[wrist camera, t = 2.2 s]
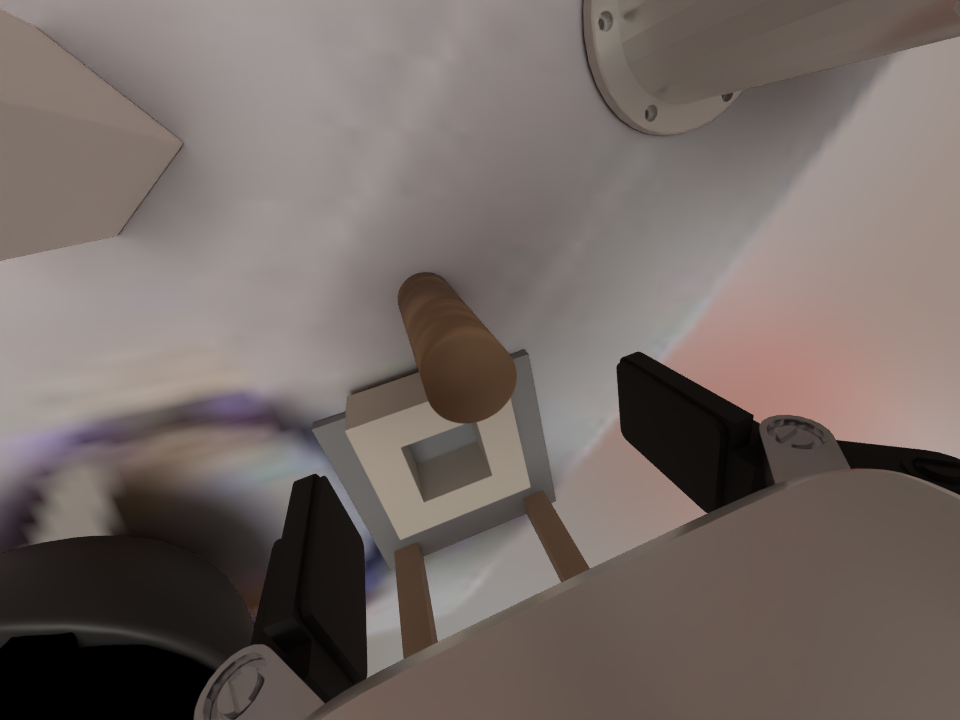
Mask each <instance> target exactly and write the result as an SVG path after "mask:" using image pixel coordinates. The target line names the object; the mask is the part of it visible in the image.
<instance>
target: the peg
mask: <svg viewBox="0 0 960 720" xmlns="http://www.w3.org/2000/svg"><path fill="white" fill-rule="evenodd" d="M398 305H399V309H400V312H401V315H402V319H403V322H404V325H405V328H406V331H407V335H408V338H409V341H410V344H411V348H412V351H413V354H414V357H415V361H416V364H417V367H418V370H419V373H420V377H421V380H422V383H423V386H424V390H425V393H426V396H427V399H428V402H429V404H430V406H431V407H432V409H433V410H434V411H435V412H436V413H437V414H438V415H439V416H441V417H442V418H444V419H446V420H448V421H451V422H455V423H462V424H468V423H475V422H479V421H482V420H485V419H487V418H489V417H491V416H493V415H494V414H496V413H497V412H498V411H500V410H501V409H502V408H503V407H504V406H505V405H506V403H507V402H508V401H509V399H510V398H511V396H512V394H513V392H514V389H515V386H516V380H517V372H516V366H515V363H514V361H513V359H512V357H511V356H510V354H509V353H508V352H507V351H506V349H505V348H504V347H503V346H502V345H501V344H500V343H499V342H498V340H497V339H496V338H495V337H494V336H493V335H492V334H491V332H490V331H489V330H488V329H487V328H486V327H485V326H484V324H483V323H482V322H481V321H480V320H479V319H478V318H477V316H476V315H475V314H474V313H473V312H472V311H471V310H470V308H469V307H468V306H467V305H466V304H465V303H464V302H463V300H462V299H461V298H460V297H459V296H458V295H457V294H456V292H455V291H454V290H453V289H452V288H451V287H450V286H449V284H448V283H447V282H446V281H445V280H444V279H443V278H442V277H440V276H438V275H436V274H433V273H429V272H423V273H417V274H415V275H413V276H411V277H409V278H408V279H407V280H406V281H405V282H404V283H403V284H402V286H401V288H400V290H399V293H398Z"/></svg>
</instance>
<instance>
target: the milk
mask: <svg viewBox="0 0 960 720" xmlns="http://www.w3.org/2000/svg"><path fill="white" fill-rule="evenodd" d="M182 144H183V143H182V141H181V140H179V139H178V138H177V137H176V136H174V135H173V134H172V133H170V132H169V131H168V130H167V129H165V128H164V127H163V126H161V125H160V124H159V123H158V122H156V121H155V120H154V119H152V118H151V117H150V116H149V115H147V114H146V113H145V112H143V111H142V110H141V109H140V108H138V107H137V106H136V105H135V104H133V103H132V102H131V101H129V100H128V99H127V98H126V97H124V96H123V95H122V94H120V93H119V92H118V91H117V90H115V89H114V88H113V87H111V86H110V85H109V84H108V83H106V82H105V81H104V80H102V79H101V78H100V77H99V76H97V75H96V74H95V73H94V72H92V71H91V70H90V69H88V68H87V67H86V66H85V65H83V64H82V63H81V62H79V61H78V60H77V59H76V58H74V57H73V56H72V55H70V54H69V53H68V52H67V51H65V50H64V49H63V48H61V47H60V46H59V45H58V44H56V43H55V42H54V41H53V40H51V39H50V38H49V37H47V36H46V35H45V34H44V33H42V32H41V31H40V30H38V29H37V28H36V27H34V26H33V25H31V24H29V23H27V22H25V21H23V20H21V19H19V18H17V17H15V16H13V15H11V14H9V13H7V12H5V11H3V10H1V9H0V261H1V260H6V259H11V258H15V257H20V256H25V255H30V254H34V253H39V252H44V251H49V250H53V249H58V248H63V247H67V246H72V245H77V244H82V243H86V242H91V241H96V240H101V239H105V238H110V237H115V236H117V235H118V234H119V232H120V231H121V230H122V228H123V227H124V226H125V224H126V223H127V221H128V220H129V219H130V217H131V216H132V214H133V213H134V212H135V210H136V209H137V207H138V206H139V205H140V203H141V202H142V200H143V199H144V198H145V196H146V195H147V194H148V192H149V191H150V189H151V188H152V187H153V185H154V184H155V182H156V181H157V180H158V178H159V177H160V175H161V174H162V173H163V171H164V170H165V168H166V167H167V166H168V164H169V163H170V162H171V160H172V159H173V157H174V156H175V155H176V153H177V152H178V150H179V149H180V148H181V146H182Z"/></svg>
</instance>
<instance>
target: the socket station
mask: <svg viewBox="0 0 960 720" xmlns="http://www.w3.org/2000/svg"><path fill="white" fill-rule="evenodd" d="M510 356H511V357H512V359H513V361H514V363H515V366H516V372H517V380H516V386H515V389H514V392H513V394H512V396H511V398H510V399H509V401H508V402H507V403H506V405H505V406H504V407H503V408H502V409H501V410H500V411H498V412H497V413H496V414H494V415H493V416H491V417H489V418H487V419H485V420H482V421H479V422H475V423H468V424H462V423H455V422H451V421H448V420H446V419H444V418H442V417H441V416H439V415H438V414H437V413H436V412H435V411H434V410H433V409H432V407H431V406H430V404H429V402H428V399H427V396H426V393H425V390H424V386H423V383H422V380H421V377H420V373H419V372H418V373H415V374H412V375H409V376H406V377H403V378H400V379H398V380H395V381H392V382H389V383H386V384H383V385H380V386H377V387H374V388H371V389H368V390H365V391H362V392H359V393H356V394H354V395H351V396H348V397H347V403H346V412H344V413H341V414H338V415H335V416H332V417H329V418H326V419H323V420H320V421H318V422H315V423H313V426H312V431H313V433H314V434H315V436H316V438H317V440H318V442H319V443H320V445H321V447H322V449H323V451H324V452H325V454H326V456H327V458H328V459H329V461H330V463H331V465H332V467H333V468H334V470H335V472H336V474H337V475H338V477H339V479H340V481H341V483H342V484H343V486H344V488H345V490H346V491H347V493H348V495H349V497H350V499H351V500H352V502H353V504H354V506H355V508H356V509H357V511H358V513H359V515H360V516H361V518H362V520H363V522H364V524H365V525H366V527H367V529H368V531H369V532H370V534H371V536H372V538H373V540H374V541H375V543H376V545H377V547H378V548H379V550H380V552H381V554H382V556H383V557H384V559H385V561H386V563H387V565H388V566H389V568H390V570H391V569H394V568H396V579H397V590H398V601H399V612H400V623H401V634H402V645H403V655H404V659H405V658H407V657H409V656H411V655H413V654H415V653H417V652H419V651H421V650H423V649H425V648H427V647H429V646H431V645H433V644H435V643H437V642H438V641H437V635H436V629H435V623H434V617H433V611H432V605H431V599H430V593H429V587H428V582H427V576H426V570H425V564H424V558H423V556H425V555H427V554H430V553H432V552H435V551H437V550H439V549H442V548H444V547H447V546H449V545H451V544H454V543H456V542H459V541H461V540H464V539H466V538H468V537H471V536H473V535H476V534H478V533H480V532H483V531H485V530H488V529H490V528H492V527H495V526H497V525H500V524H502V523H504V522H507V521H509V520H512V519H514V518H516V517H519V516H521V515H524V514H526V513H527V515H528V517H529V519H530V521H531V523H532V525H533V527H534V529H535V531H536V533H537V535H538V537H539V539H540V541H541V543H542V545H543V547H544V549H545V551H546V553H547V555H548V557H549V559H550V561H551V563H552V565H553V567H554V569H555V571H556V572H557V575H558V577H559V579H560V581H561V582H564V581H566V580H568V579H570V578H572V577H574V576H576V575H578V574H580V573H582V572H585V571H587V570H589V569H590V568H589V566H588V565H587V563H586V561H585V560H584V558H583V556H582V555H581V553H580V551H579V550H578V548H577V546H576V545H575V543H574V541H573V540H572V538H571V536H570V535H569V533H568V531H567V530H566V528H565V526H564V524H563V523H562V521H561V519H560V518H559V516H558V514H557V513H556V511H555V509H554V508H553V506H552V504H551V503H553V502H555V501H556V499H555V493H554V488H553V483H552V477H551V472H550V467H549V461H548V456H547V451H546V445H545V440H544V435H543V429H542V424H541V419H540V413H539V408H538V402H537V397H536V392H535V386H534V381H533V376H532V370H531V365H530V360H529V354H528V353H527V352H526V351H525V350H522V351H520V352H517V353H514V354H511V355H510Z"/></svg>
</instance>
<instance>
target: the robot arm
mask: <svg viewBox="0 0 960 720" xmlns="http://www.w3.org/2000/svg"><path fill="white" fill-rule="evenodd" d="M583 17H584V38H585V44H586V49H587V55H588V61H589V64H590V67H591V70H592V73H593V76H594V79H595V82H596V85H597V87H598V89H599V90H600V92H601V94H602V96H603V98H604V99H605V101H606V103H607V104H608V106H609V107H610V108H611V109H612V110H613V111H614V113H615V114H616V115H617V116H618V117H619V118H620V119H621V120H623V121H624V122H625V123H627V124H628V125H629V126H631V127H632V128H634V129H636V130H639V131H641V132H644V133H646V134H652V135H661V136H664V135H672V134H680V133H684V132H688V131H691V130H695V129H697V128H699V127H701V126H703V125H705V124H707V123H709V122H711V121H712V120H714V119H715V118H716V117H717V116H719V115H720V114H721V113H722V112H724V111H725V110H726V109H727V108H728V107H729V106H730V105H731V104H732V103H733V102H734V101H735V100H736V98H737V97H738V96H739V95H740V94H741V93H742V92H743V90H744V89H749V88H753V87H757V86H761V85H765V84H769V83H773V82H777V81H781V80H785V79H789V78H793V77H797V76H801V75H805V74H809V73H813V72H817V71H821V70H825V69H829V68H833V67H837V66H841V65H845V64H849V63H854V62H858V61H862V60H866V59H870V58H874V57H878V56H882V55H886V54H890V53H894V52H898V51H902V50H906V49H910V48H914V47H918V46H922V45H926V44H930V43H934V42H938V41H942V40H946V39H950V38H954V37H959V36H960V0H584V6H583ZM598 23H599V24H598ZM599 25H600V28H599ZM617 382H618V396H619V411H620V426H621V432H622V434H623V436H624V438H625V439H626V440H627V441H628V442H629V443H630V444H631V445H632V446H634V447H635V448H636V449H637V450H638V451H639V452H640V453H641V454H642V455H643V456H645V457H646V458H647V459H648V460H649V461H650V462H651V463H652V464H653V465H654V466H655V467H657V468H658V469H659V470H660V471H661V472H662V473H663V474H664V475H666V477H668V478H669V479H670V480H671V481H672V482H673V483H674V484H675V485H676V486H677V487H679V488H680V489H681V490H682V491H683V492H684V493H685V494H686V495H687V496H688V497H689V498H691V499H692V500H693V501H694V502H695V503H696V504H697V505H698V506H699V507H700V508H701V509H703V510H704V511H705V512H706V513H708V514H706V515H704V516H702V517H699V518H697V519H695V520H693V521H691V522H689V523H686V524H684V525H682V526H680V527H678V528H676V529H674V530H671V531H669V532H667V533H665V534H663V535H661V536H659V537H657V538H654V539H652V540H650V541H648V542H646V543H644V544H642V545H640V546H637V547H635V548H633V549H631V550H629V551H627V552H625V553H623V554H620V555H618V556H616V557H614V558H612V559H610V560H608V561H606V562H604V563H601V564H599V565H597V566H595V567H593V568H591V569H589V570H587V571H585V572H582V573H580V574H578V575H576V576H574V577H572V578H570V579H568V580H566V581H564V582H561V583H559V584H557V585H555V586H553V587H551V588H549V589H547V590H545V591H543V592H541V593H538V594H536V595H534V596H532V597H530V598H528V599H526V600H524V601H522V602H520V603H518V604H516V605H514V606H511V607H509V608H507V609H505V610H503V611H501V612H499V613H497V614H495V615H493V616H491V617H489V618H487V619H484V620H482V621H480V622H478V623H476V624H474V625H472V626H470V627H468V628H466V629H464V630H462V631H460V632H457V633H456V634H453V635H451V636H449V637H447V638H445V639H443V640H441V641H439V642H437V643H435V644H433V645H431V646H429V647H427V648H425V649H423V650H421V651H419V652H417V653H415V654H413V655H411V656H409V657H407V658H405V659H403V660H401V661H399V662H397V663H395V664H393V665H391V666H389V667H387V668H385V669H383V670H381V671H379V672H377V673H376V674H374V675H372V676H370V677H368V678H367V635H366V597H365V559H364V545H363V541H362V538H361V536H360V534H359V533H358V531H357V529H356V527H355V526H354V524H353V522H352V520H351V519H350V517H349V515H348V513H347V512H346V510H345V508H344V506H343V505H342V503H341V501H340V500H339V498H338V496H337V494H336V493H335V491H334V489H333V487H332V486H331V484H330V482H329V480H328V479H327V477H326V476H322V477H319V476H318V475H317V474H313V475H310V476H308V477H305V478H302V479H300V480H297V481H295V482H294V484H293V487H292V492H291V496H290V501H289V506H288V511H287V515H286V520H285V525H284V530H283V534H282V538H281V539H279V540H277V541H276V542H275V543H274V546H273V548H272V552H271V557H270V561H269V565H268V570H267V574H266V578H265V583H264V587H263V591H262V596H261V600H260V604H259V608H258V613H257V617H256V621H255V626H254V630H253V634H252V639H251V643H250V646H249V647H246V648H243V649H242V650H240V651H238V652H237V653H235V654H234V655H232V656H231V657H230V658H229V659H228V660H226V661H225V662H224V663H223V664H222V665H221V666H220V667H219V668H218V669H217V671H216V672H215V673H214V674H213V676H212V677H211V678H210V679H209V681H208V682H207V684H206V686H205V687H204V689H203V691H202V693H201V694H200V697H199V700H198V702H197V705H196V708H195V713H194V720H960V459H958V458H955V457H952V456H949V455H946V454H942V453H939V452H933V451H927V450H920V449H910V448H902V447H892V446H884V445H875V444H866V443H857V442H848V441H838V440H836V439H835V438H834V436H833V434H832V433H831V432H830V431H829V430H828V429H827V428H825V427H824V426H823V425H821V424H819V423H817V422H815V421H813V420H810V419H806V418H803V417H799V416H792V415H777V416H772V417H768V418H767V419H765V420H763V421H762V422H761V424H759V423H758V422H756V421H754V420H753V415H752V414H750V413H749V412H747V411H745V410H743V409H741V408H740V407H738V406H736V405H734V404H732V403H731V402H729V401H727V400H725V399H724V398H722V397H720V396H718V395H717V394H715V393H713V392H711V391H709V390H707V389H706V388H704V387H702V386H700V385H699V384H697V383H695V382H693V381H691V380H689V379H688V378H686V377H684V376H683V375H681V374H679V373H677V372H675V371H674V370H671V369H670V368H668V367H667V366H665V365H663V364H661V363H659V362H658V361H656V360H654V359H652V358H650V357H649V356H647V355H645V354H643V353H641V352H635V353H633V354H630V355H627V356H625V357H622V358H621V360H620V363H619V364H618V365H617ZM366 678H367V679H366Z"/></svg>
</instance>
